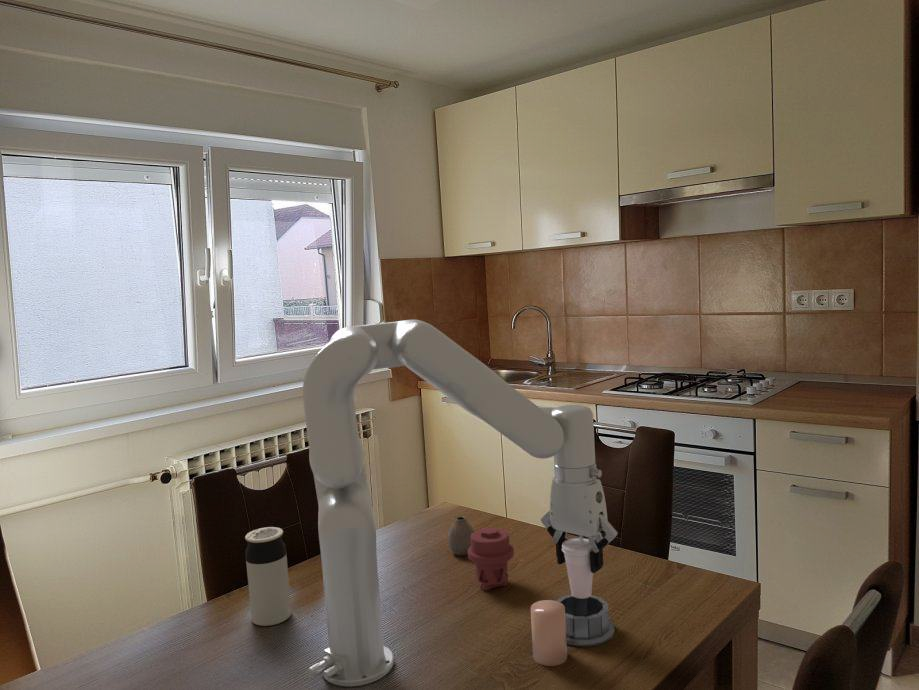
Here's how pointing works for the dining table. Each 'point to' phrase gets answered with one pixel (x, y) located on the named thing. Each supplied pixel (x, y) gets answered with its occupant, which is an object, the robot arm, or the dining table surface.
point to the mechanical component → (491, 556)
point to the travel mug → (267, 576)
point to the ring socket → (587, 621)
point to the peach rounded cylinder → (549, 632)
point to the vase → (460, 536)
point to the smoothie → (578, 566)
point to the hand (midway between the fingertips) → (579, 565)
